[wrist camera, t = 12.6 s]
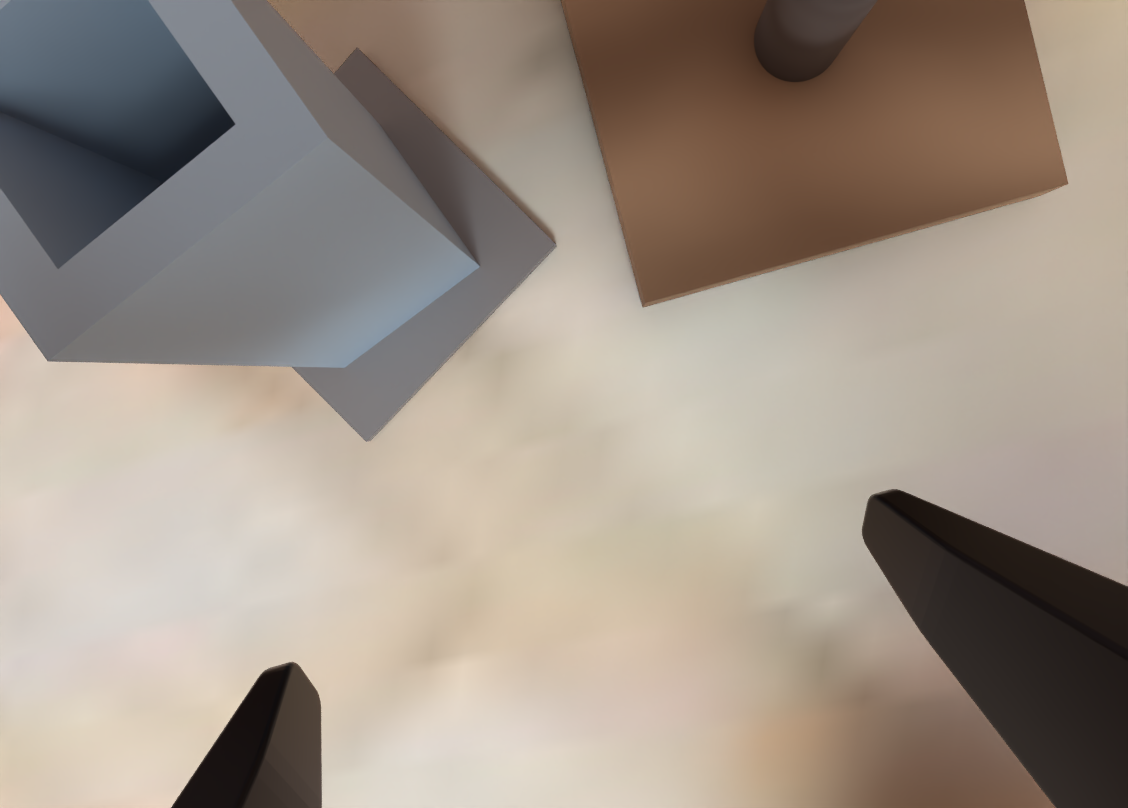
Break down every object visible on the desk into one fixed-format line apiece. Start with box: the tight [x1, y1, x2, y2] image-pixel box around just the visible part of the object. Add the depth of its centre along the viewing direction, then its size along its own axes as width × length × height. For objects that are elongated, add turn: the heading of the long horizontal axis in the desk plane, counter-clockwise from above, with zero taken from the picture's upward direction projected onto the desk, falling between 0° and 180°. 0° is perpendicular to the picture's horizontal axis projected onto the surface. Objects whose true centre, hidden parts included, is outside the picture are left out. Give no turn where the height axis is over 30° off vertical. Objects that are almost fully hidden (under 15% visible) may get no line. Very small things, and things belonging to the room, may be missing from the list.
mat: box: [292, 48, 556, 442], centre depth 17 cm, size 8×8×1 cm
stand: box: [561, 0, 1068, 307], centre depth 14 cm, size 11×11×4 cm
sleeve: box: [0, 0, 480, 368], centre depth 12 cm, size 5×5×9 cm
